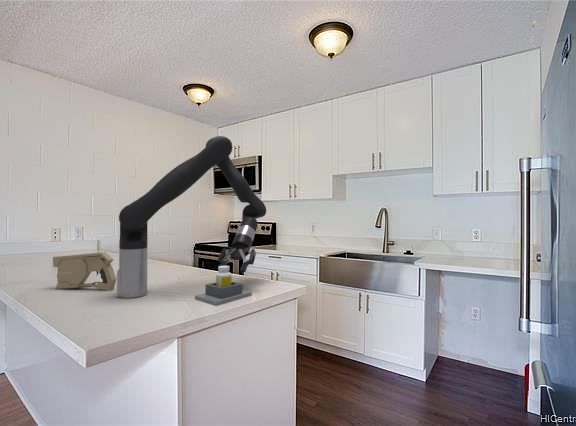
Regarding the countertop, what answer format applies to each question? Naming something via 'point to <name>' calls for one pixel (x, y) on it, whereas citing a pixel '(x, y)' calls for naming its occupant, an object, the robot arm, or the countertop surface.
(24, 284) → the countertop surface
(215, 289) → the gray socket holder
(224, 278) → the supplement bottle
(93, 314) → the countertop surface
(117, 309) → the countertop surface
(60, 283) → the gun
